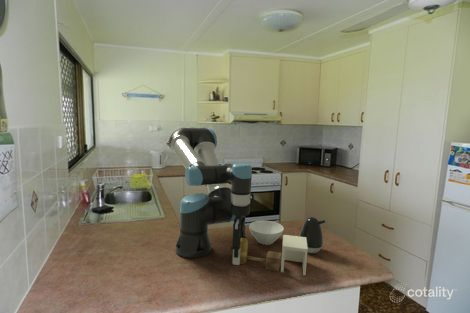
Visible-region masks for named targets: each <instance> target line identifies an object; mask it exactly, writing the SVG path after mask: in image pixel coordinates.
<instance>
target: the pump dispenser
mask: <svg viewBox="0 0 470 313" xmlns="http://www.w3.org/2000/svg"><path fill="white" fill-rule="evenodd" d="M325 223H326V220H325V219H323V220H318V218H316V217H315V216H310V217H309V216H308V218H306V220H305V221H304V223H303V224H302V227H301V230H300V231H299V237H306V240H307V248H308V251H307V254H316V253H319V252H320V251H321V250H322V247H323V246H324V233H323V229H322V226H321V225H322V224H325Z"/></svg>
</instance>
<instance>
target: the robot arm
mask: <svg viewBox="0 0 470 313" xmlns="http://www.w3.org/2000/svg"><path fill="white" fill-rule="evenodd" d="M168 145H169V148H170V150H171V151H172V153H174V154H176V156H177V157H178V159H179V161H180V162H181V164H182V165H183V167H184V168H185V170H184V171H185V172H184V179H185V182H186V185H187V186H190V187H193V186H195V187H199V186H206V187H207V191H208V194H206V193H203V192H201V193H199V192H197V193H191V194H187V195H186V196H184V197H183V198H181V200H180V203H179V204H180V206H179V233H178V237H177V240H176V242H175V246H174V247H175V249H174V250H175V251H174V252H175V253H176V254H177V256H180V257H182V258H187V259H197V258H202V257H205V256H207V255H208V254H210V253H211V251H212V242H211V241H212V240H211V238H210V236H209V229H208V228H209V225H215V224H216V225H217V224H218V225H219V224H223V223H231V222H233V224H232V229H233V230H232V231H233V232H232V243H231V244H232V245H231V247H230V249H231V250H232V265H237V266H240V265H241V264H240V241H241V238H247V236H246V216H249V215H250V212H251V204H250V203H251V199H253V196H252V195H251V193H252V177H253V175H252V174H253V172H252V170H253V169H252V165H251V164H249V163H246V162H245V163H244V162H236V163H233V164H231V163H226V162H225V163H222V164H220V165H219V161H218V159H217V157H216V153H215V150H216V149H217V146H218V137H217V134H216V132H215V130H214V129H212V128H208V127H207V128H206V127H181V128H178V129H176V130H174V131H173V132H172V133H171V135H170V136H169V140H168ZM227 184H229V185H231V186H230V187H229V186H227Z"/></svg>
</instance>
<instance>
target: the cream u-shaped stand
mask: <svg viewBox="0 0 470 313" xmlns="http://www.w3.org/2000/svg"><path fill="white" fill-rule="evenodd" d="M299 236H300V235H299ZM299 236H296V235H289V234H282V249H281V265H280V273H285V271H284V270H285V261H290V262H297V263H302V275H303V276H306V275H307V263H308V262H307V261H308V253H307V251H308V248H307V240H306V237H299Z"/></svg>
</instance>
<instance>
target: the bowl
mask: <svg viewBox="0 0 470 313" xmlns="http://www.w3.org/2000/svg"><path fill="white" fill-rule="evenodd" d="M248 229H249V232H250V234H251V235H252V236H253V238H255V240H256V242H258V243H259V244H261V245H264V244H265V245H266V246H269V245H273V244H274V243H275V242H276V241H277V240H278V239H279V238H280V237H282V236H283V233H284V230H285V228H284V226H283V225H282V224H280V223H278V222H275V221H270V220H256V221H252V222H251V223H250V224H248ZM265 245H264V246H265Z"/></svg>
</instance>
